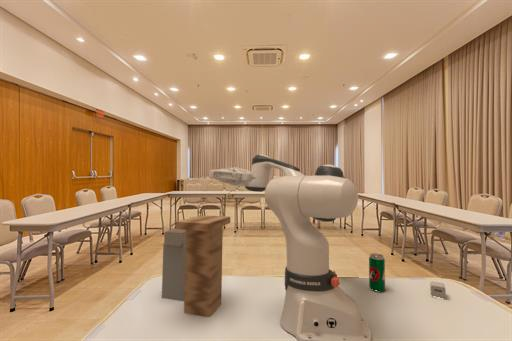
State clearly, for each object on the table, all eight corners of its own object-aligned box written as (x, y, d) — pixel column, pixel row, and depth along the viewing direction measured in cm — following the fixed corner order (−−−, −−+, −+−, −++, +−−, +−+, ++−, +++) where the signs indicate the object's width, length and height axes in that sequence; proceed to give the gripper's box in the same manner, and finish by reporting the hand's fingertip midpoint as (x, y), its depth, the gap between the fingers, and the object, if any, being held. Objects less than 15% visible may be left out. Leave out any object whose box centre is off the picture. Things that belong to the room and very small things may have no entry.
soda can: (386, 293, 90) (386, 257, 90) (371, 291, 91) (370, 256, 91) (382, 287, 95) (382, 253, 95) (367, 286, 96) (367, 252, 96)
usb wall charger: (430, 297, 87) (430, 285, 87) (430, 290, 93) (429, 278, 93) (445, 300, 85) (445, 287, 85) (444, 292, 91) (443, 281, 91)
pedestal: (206, 282, 98) (207, 236, 98) (184, 300, 82) (185, 245, 83) (187, 280, 100) (188, 234, 101) (161, 297, 84) (163, 243, 85)
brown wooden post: (229, 299, 84) (230, 216, 85) (207, 325, 68) (209, 223, 70) (200, 295, 86) (202, 215, 88) (172, 319, 71) (175, 221, 72)
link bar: (215, 231, 107) (215, 221, 108) (181, 245, 82) (181, 233, 83) (201, 230, 109) (201, 221, 109) (164, 244, 84) (164, 231, 84)
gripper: (256, 185, 123) (244, 183, 110) (217, 181, 130) (202, 179, 117) (257, 171, 123) (246, 168, 110) (218, 168, 130) (203, 165, 117)
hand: (223, 174), depth 114 cm, fingers open, 8 cm apart
